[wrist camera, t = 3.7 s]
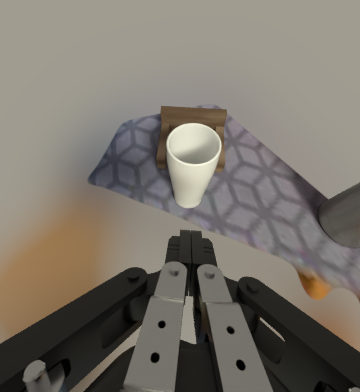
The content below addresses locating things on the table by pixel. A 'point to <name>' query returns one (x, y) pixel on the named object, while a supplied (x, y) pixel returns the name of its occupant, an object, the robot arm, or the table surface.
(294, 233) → the table surface
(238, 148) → the table surface
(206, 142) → the white cup
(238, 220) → the table surface
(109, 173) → the table surface
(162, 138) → the walnut dock
